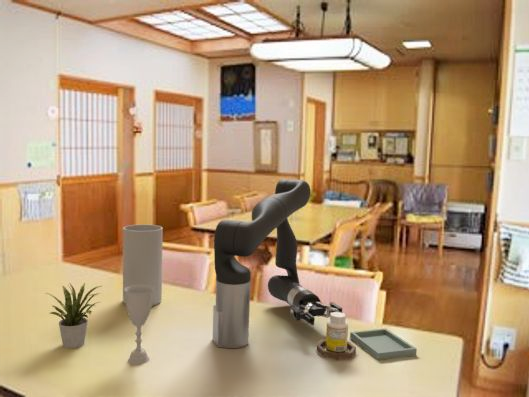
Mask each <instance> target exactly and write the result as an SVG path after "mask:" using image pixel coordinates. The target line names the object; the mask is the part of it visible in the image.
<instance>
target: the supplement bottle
mask: <svg viewBox="0 0 529 397" xmlns="http://www.w3.org/2000/svg"><path fill="white" fill-rule="evenodd" d="M346 315H347V314H345V313H344V312H342V313H340V312H331V314H330V317H329V319H327V321H326V337H325V340H326V346H325V350H326V351H330V352H335V353H344V352H347V351H348V349H347V341H348V335H349V334H348V333H349V323H348V321H347V320H346V318H347V317H346Z"/></svg>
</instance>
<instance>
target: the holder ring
mask: <svg viewBox="0 0 529 397" xmlns="http://www.w3.org/2000/svg"><path fill="white" fill-rule="evenodd" d="M323 347H326V339H321V340H320V341H319V342H318V343H316V352H317V353H318V354H320V356H321V357H322V358H327V359H330V360H335V361H344V360H350V359H353V358H354V356H355V354H356V353H357V347H356V346H355V345H354V344H352V343H351V342H350V341H349V340H347V350H348V352H344V353H335V352H330V351H326V349H325V348H323Z"/></svg>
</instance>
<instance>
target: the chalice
mask: <svg viewBox="0 0 529 397" xmlns="http://www.w3.org/2000/svg"><path fill="white" fill-rule="evenodd" d="M153 289H154V287H153V286H151V285H146V284H136V285H131V286H128V287H126V288H125V289H124V290H125V292H126V294H127V305H126V312H127V315H128V318H130V322H131V323H132V325H133V326H135V327H136V332H135V335H136V339H135V343H136V347H135V349H133V350H132V351H131V353H130V355H129V358H128V359H127V363H129V364H131V365H143V364H146V363H147V362H148V361H150V358H149V355H148V353H147V351H146V349H145V348H143V347H142V346H141V344H142V342H143V339H142V337H141V336H142V334H143V332H142V329H141V328H142V326H144V325H145V324H146V322H147V321H148V318H149V316H150V313H151V309H152V306H151V296H152V291H153Z"/></svg>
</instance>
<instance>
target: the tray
mask: <svg viewBox="0 0 529 397" xmlns="http://www.w3.org/2000/svg"><path fill="white" fill-rule="evenodd" d="M349 338H350V340H352V341H353V342H354V343H356V344H357V345H358V346H360V347H361V348H362V349H363V350H365V352H367V353H369V354H370V356H372V357H373V358H374V359H376V360H378V361H381V360H389V359H397V358H404V357H405V358H406V357H413V356H417V352H418V350H417V348H416V347H415V346H413V345H412V344H411V343H409V342H408V341H406V340H405V339H403V338H402V337H400V336H398V335H396V334H395V333H393V332H392V331H390V330H389V329H388V328H378V329H368V330H359V331H357V330H356V331H350V333H349Z"/></svg>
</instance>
